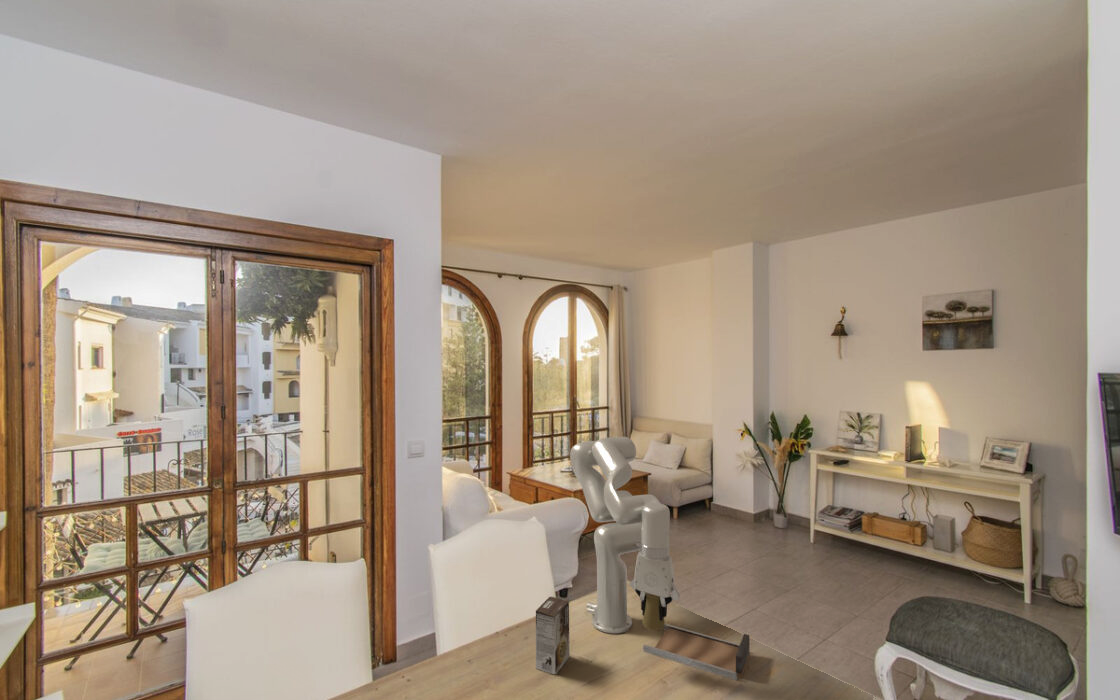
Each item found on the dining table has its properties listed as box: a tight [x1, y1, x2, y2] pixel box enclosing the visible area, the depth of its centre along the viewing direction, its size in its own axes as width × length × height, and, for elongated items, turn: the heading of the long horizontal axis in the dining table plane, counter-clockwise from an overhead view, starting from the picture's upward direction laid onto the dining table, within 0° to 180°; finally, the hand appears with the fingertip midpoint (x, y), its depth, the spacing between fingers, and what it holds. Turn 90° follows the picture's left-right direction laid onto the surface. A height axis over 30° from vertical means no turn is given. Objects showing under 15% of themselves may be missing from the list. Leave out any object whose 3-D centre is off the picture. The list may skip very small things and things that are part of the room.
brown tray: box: [654, 628, 751, 679], centre depth 145 cm, size 24×12×6 cm, turn 60°
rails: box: [642, 623, 740, 681], centre depth 146 cm, size 26×15×2 cm, turn 60°
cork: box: [642, 593, 666, 631], centre depth 138 cm, size 6×6×11 cm
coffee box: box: [535, 596, 570, 675], centre depth 141 cm, size 9×6×16 cm
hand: (653, 615), depth 138 cm, fingers closed on cork, 4 cm apart
